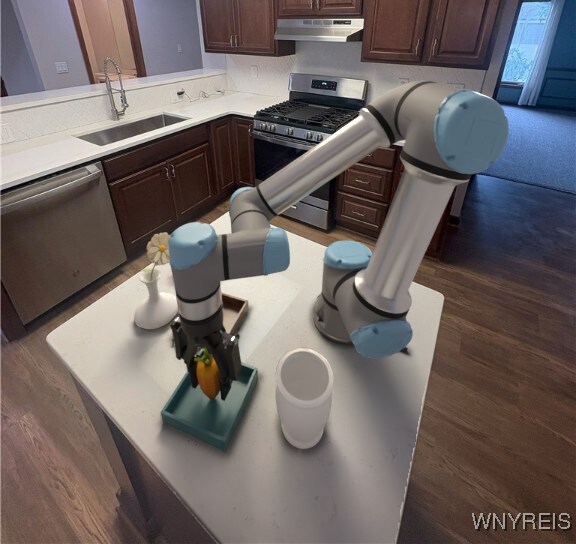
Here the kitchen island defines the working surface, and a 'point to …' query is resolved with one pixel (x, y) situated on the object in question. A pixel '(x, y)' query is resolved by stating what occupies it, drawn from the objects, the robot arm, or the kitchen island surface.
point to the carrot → (208, 375)
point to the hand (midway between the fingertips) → (211, 387)
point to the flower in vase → (157, 304)
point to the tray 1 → (231, 314)
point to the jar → (303, 395)
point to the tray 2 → (209, 409)
